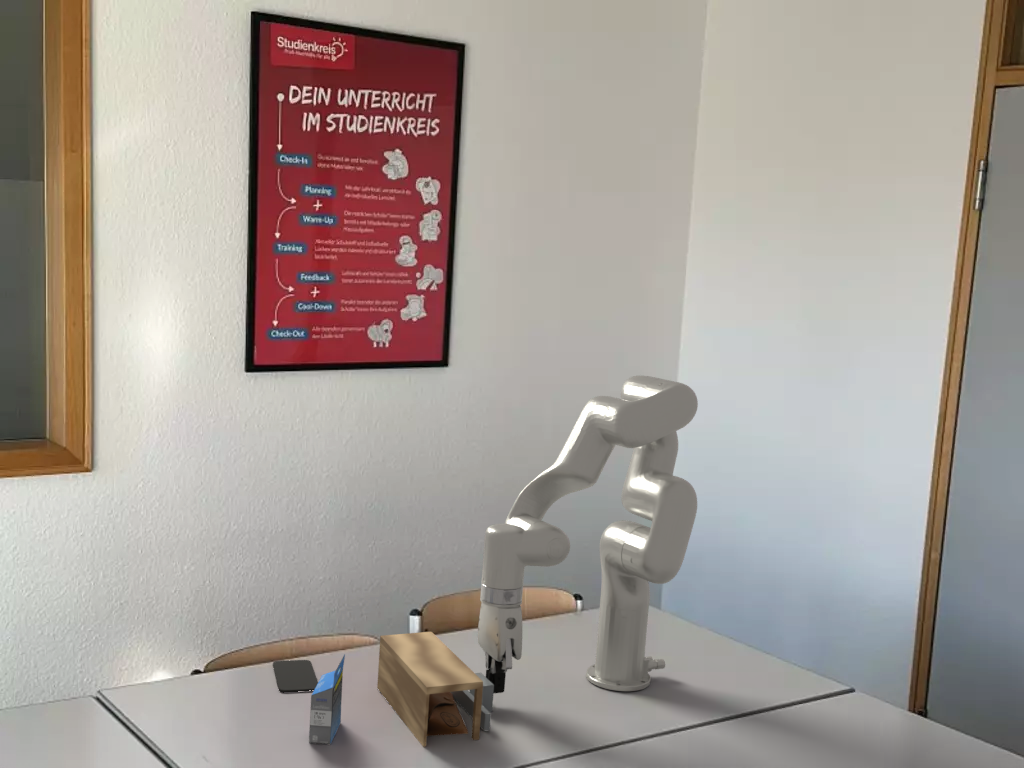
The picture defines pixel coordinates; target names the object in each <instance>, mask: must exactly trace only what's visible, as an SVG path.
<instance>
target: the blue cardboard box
mask: <svg viewBox="0 0 1024 768" xmlns="http://www.w3.org/2000/svg"><path fill="white" fill-rule="evenodd" d="M345 659H346V654H345V653H344V654H343V656H342V658H341V661H339V663H338V666H337V668H336V669H335V670H333V671H330V672H327V673H324V674H322V675H320V679H319V680H318V684H317V686H316V688H315V690H314V691H313V692H311V693H312V694H311V696H310V714H309V715H310V716H309V731H308V732H309V733H308V743H310V744H313V743H316V745H327V744H330V745H331V744H332V742H333V741H334V738H335V736H336V733H337V732H338V730H339V727H340V725H341V722H342V719H341V718H342V717H341V716H342V696H343V695H342V694H343V678H344V677H343V673H344V664H345Z"/></svg>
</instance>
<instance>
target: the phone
mask: <svg viewBox="0 0 1024 768" xmlns="http://www.w3.org/2000/svg"><path fill="white" fill-rule="evenodd" d="M272 667H273V668H274V669H273V668H272V669H273V672H274V676H275V682H276V685H277V689H279V690H278V692H279V691H280V692H279V693H281V692H283V693H282V694H285V693H284V692H298V691H309V690H311V691H312V690H315V688H316V686H317V684H318V682H319V680H318V678H317V676H316V672H315V670H314V669H315V668H314V667H313V664H312V662H311V660H309V659H293V660H292V659H291V660H290V661H289V659H288V660H276V661H275V660H274V661H273V662H272Z"/></svg>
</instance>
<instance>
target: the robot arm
mask: <svg viewBox="0 0 1024 768" xmlns="http://www.w3.org/2000/svg"><path fill="white" fill-rule="evenodd" d="M698 401H699V400H698V397H697V395H696V393H695V391H694V389H692V388H691V387H690V386H689V385H687V384H685V383H682V382H679V381H673V380H668V379H664V378H659V377H656V376H655V377H654V376H649V375H634V376H630V377H629V378H627V379H626V380H624V382H623V384H622V386H621V390H620V398H618V397H614V396H611V395H610V396H608V395H597V396H593V397H592V398H590V399H589V400H588V401H587V402H586V403H585V405H584V406H583V408H582V410H581V411H580V413H579V416H578V417H577V419H576V422H575V423H574V425H573V427H572V429H571V431H570V433H569V435H568V437H567V439H566V440H565V442H564V444H563V446H562V448H561V449H560V452H559V454H558V456H557V458H555V459H556V460H555V461H554V462H553V463H552V465H550V466H549V467H548V468H546V469H545V470H544V471H542V472H541V473H539V475H537V476H536V477H535V478H534V479H532V480H531V481H530V482H528V484H527V485H526V486H524V488H523V489H522V490H521V491H520V493H519V494H518V496H517V497H516V499H515V501H514V503H513V505H512V507H511V508H510V511H509V512H508V515H507V517H506V519H505V521H504V523H495V524H492V525H489V526H488V527H487V528H486V530H485V532H484V539H483V540H484V542H483V554H482V558H483V559H482V568H481V569H482V570H481V571H482V572H481V582H480V583H481V584H480V598H479V601H480V602H481V604H480V610H479V617H478V626H477V628H478V629H477V644H478V645H479V647H480V648H481V649H482V650H483V653H484V654H485V655H484V656H485V668H486V669H485V677H486V678H487V679H488V680H489V681H490V682H491V683H492V684H494V692H493V695H494V694H502V693H504V692H505V687H506V673H507V672H508V671H509V670H512V669H513V659H515V660H517V661H518V660H519V661H520V659H522V655H523V611H522V606H521V605H522V604H523V593H524V592H523V591H524V578H525V577H524V576H525V567H527V566H528V567H529V566H530V567H540V568H541V567H543V568H549V567H554V566H558V565H559V564H561V563H563V562H564V561H565V560H566V558H567V557H568V555H569V554H570V551H571V542H570V538H569V537H568V535H567V533H566V532H564V530H563V529H561V528H559V526H558V527H557V526H556V525H553V524H551V523H548V522H546V521H544V520H543V518H544V517H545V515H546V513H547V511H549V509H550V508H551V507H552V506H553V505H554V504H555V503H556V501H558V500H560V499H561V498H563V497H565V496H568V495H570V494H572V493H575V492H579V491H582V490H586V489H589V488H591V487H593V486H595V485H596V483H597V482H598V480H599V478H600V476H601V475H602V472H603V470H604V468H605V466H606V464H607V462H608V460H609V459H610V457H611V454H612V452H613V451H614V448H615V447H616V446H619V447H622V448H627V449H633V450H632V454H631V458H630V460H629V461H630V462H629V465H628V468H627V471H626V474H625V479H624V482H623V486H622V490H621V497H620V498H621V503H622V506H623V508H624V509H625V510H626V511H628V512H629V513H630V514H633V515H635V516H638V517H640V518H642V519H645V520H647V521H651V525H650V527H649V526H646V525H643V524H641V523H638V522H635V521H631V520H627V519H625V520H624V519H623V520H616V521H613V522H612V523H610V524H609V525H608V526H606V528H605V529H604V530H603V532H602V534H601V537H600V540H599V560H600V568H601V586H600V587H601V588H600V589H601V590H600V600H599V609H598V612H599V613H598V622H597V623H598V625H597V633H596V634H597V635H596V636H597V637H596V647H595V648H596V649H595V661H594V664H592V665H590V666H589V667H587V669H586V674H585V675H586V679H587V680H588V681H589V682H590V683H591V684H593V685H595V686H597V687H599V688H602V689H605V690H610V691H615V692H636V691H641V690H644V689H646V688H648V687H649V686H650V685H651V678H652V677H651V675H650V674H649V672H652V671H653V670H663V669H665V667H666V662H665V659H664V658H657V659H653V657H652V656H645V654H646V644H647V643H646V642H647V634H648V633H647V632H648V620H649V619H648V618H649V607H650V601H651V595H650V593H651V592H650V584H649V583H651V584H656V585H657V584H658V585H663V584H668V583H669V582H671V581H673V579H674V578H675V577H676V576H677V575H678V573H679V572H680V570H681V567H682V565H683V562H684V560H685V559H684V558H685V556H686V552H687V550H688V546H689V542H690V537H691V535H692V532H693V529H694V528H693V527H694V523H695V520H696V516H697V511H698V497H697V493H696V490H695V488H694V487H693V485H692V484H691V482H689V481H688V480H686V479H685V478H682V477H679V476H676V475H674V470H675V466H676V462H677V457H678V452H679V437H678V434H677V431H679V430H681V429H683V428H685V427H686V426H687V425H689V424H690V423H691V422H692V420H693V419H694V417H695V416H696V414H697V411H698V406H699V403H698Z"/></svg>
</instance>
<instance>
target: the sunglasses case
mask: <svg viewBox="0 0 1024 768" xmlns="http://www.w3.org/2000/svg"><path fill="white" fill-rule="evenodd" d="M464 734H465V735H468V734H469V730H468V728H467V725H466V723H465V721H464V719H463V717H462V714H461V713H460V710H459V708H458V706H457V702H456V700H455V699H454V697H453V694H452V693H451V692H444V693H435V694H429V710H428V725H427V737H431V736H433V737H434V736H450V735H451V736H452V735H464Z"/></svg>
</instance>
